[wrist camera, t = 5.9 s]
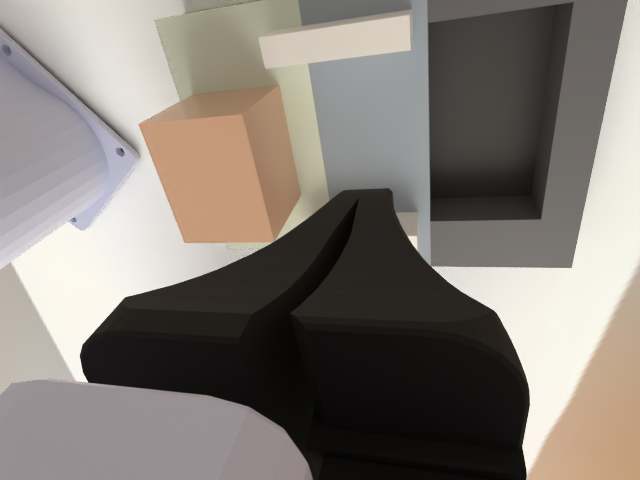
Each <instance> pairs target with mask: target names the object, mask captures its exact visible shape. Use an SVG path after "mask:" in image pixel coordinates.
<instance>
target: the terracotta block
mask: <svg viewBox="0 0 640 480" xmlns="http://www.w3.org/2000/svg"><path fill="white" fill-rule="evenodd" d="M139 127H140V129H141V132H142V134H143V137H144V139H145V142H146V145H147V147H148V150H149V152H150V155H151V157H152V160H153V163H154V165H155V168H156V170H157V173H158V175H159V178H160V181H161V183H162V186H163V188H164V191H165V193H166V196H167V199H168V201H169V204H170V206H171V209H172V211H173V214H174V217H175V219H176V222H177V224H178V227H179V229H180V232H181V235H182V237H183V240H184V242H185V243H241V242H274V241H275V240H276V239H277V237H278V235H279V233H280V232H281V230H282V228H283V226H284V225H285V223H286V221H287V219H288V218H289V216H290V214H291V212H292V211H293V209H294V207H295V205H296V204H297V202H298V200H299V198H300V196H301V192H300V187H299V182H298V177H297V172H296V167H295V162H294V157H293V151H292V146H291V141H290V136H289V131H288V126H287V121H286V116H285V111H284V106H283V101H282V96H281V90H280V85H273V86H264V87H255V88H247V89H238V90H229V91H221V92H212V93H203V94H195V95H191V96H189V97H187V98H186V99H184V100H182V101H180V102H178V103H176V104H175V105H173V106H171V107H169V108H167V109H166V110H164V111H162V112H160V113H158V114H156V115H155V116H153V117H151V118H149V119H147V120H145V121H144V122H142V123H140V124H139Z"/></svg>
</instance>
